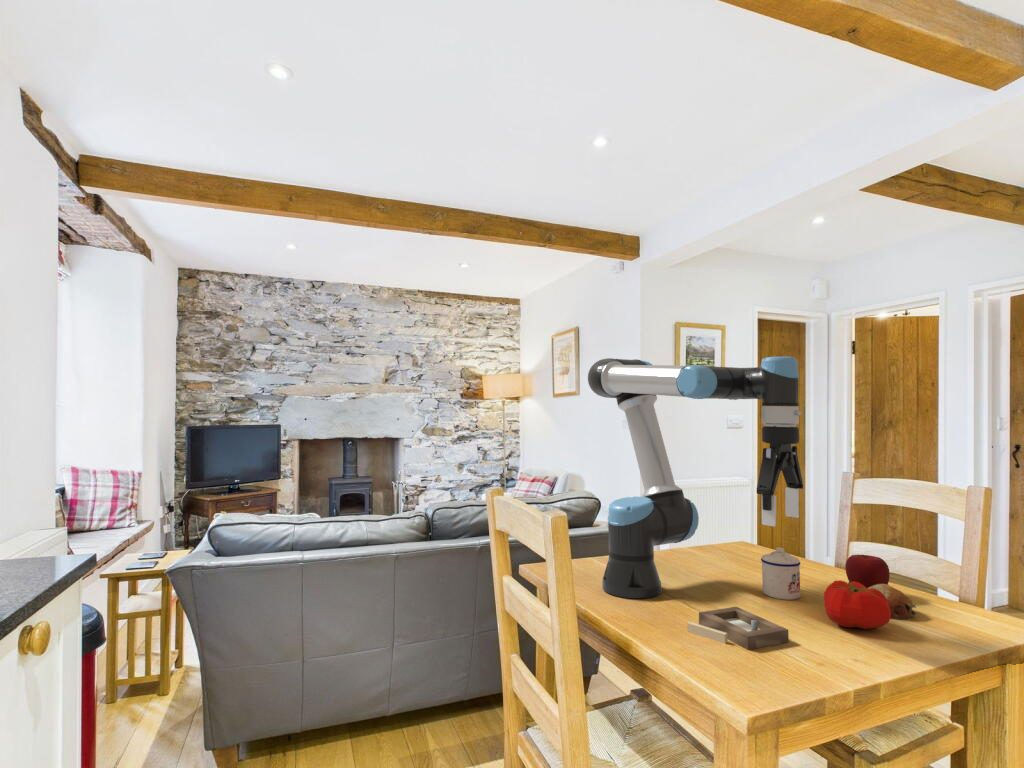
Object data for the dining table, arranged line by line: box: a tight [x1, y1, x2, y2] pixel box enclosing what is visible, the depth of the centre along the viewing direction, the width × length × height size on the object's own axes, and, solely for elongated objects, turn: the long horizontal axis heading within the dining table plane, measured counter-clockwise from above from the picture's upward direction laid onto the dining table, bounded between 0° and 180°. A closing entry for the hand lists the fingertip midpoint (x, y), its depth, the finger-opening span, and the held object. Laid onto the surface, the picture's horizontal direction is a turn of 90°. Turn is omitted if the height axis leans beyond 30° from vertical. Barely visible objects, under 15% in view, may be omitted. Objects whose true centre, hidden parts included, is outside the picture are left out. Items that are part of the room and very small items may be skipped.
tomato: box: [823, 579, 892, 630], centre depth 121 cm, size 14×13×9 cm
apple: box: [845, 554, 890, 588], centre depth 142 cm, size 10×10×10 cm
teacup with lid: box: [760, 547, 801, 601], centre depth 143 cm, size 12×9×12 cm
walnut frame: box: [698, 606, 790, 651], centre depth 113 cm, size 14×10×2 cm
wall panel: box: [686, 620, 758, 644], centre depth 114 cm, size 22×16×5 cm
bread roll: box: [869, 584, 917, 620], centre depth 130 cm, size 10×10×8 cm
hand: (780, 521), depth 124 cm, fingers open, 13 cm apart
